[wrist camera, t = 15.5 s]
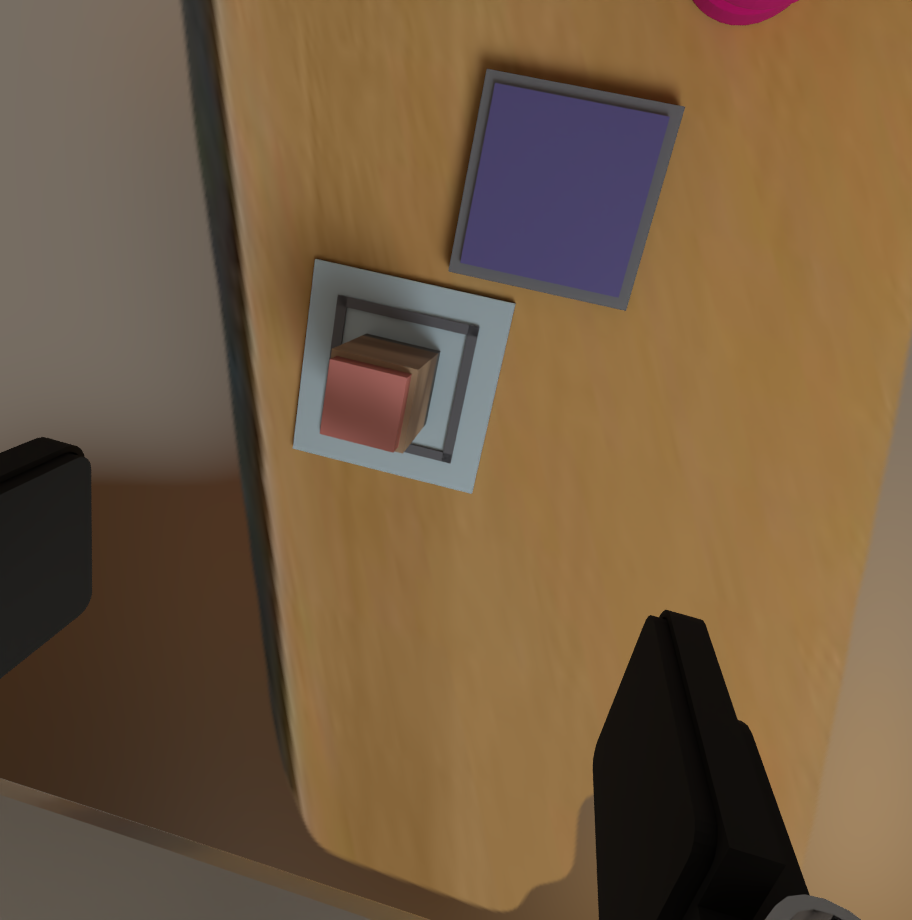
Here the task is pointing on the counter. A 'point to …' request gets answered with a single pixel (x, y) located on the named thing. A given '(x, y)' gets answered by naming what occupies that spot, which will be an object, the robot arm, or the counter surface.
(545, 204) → the ink pad
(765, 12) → the pepper mill
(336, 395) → the stamp
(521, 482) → the counter surface
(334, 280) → the light grey flat square
